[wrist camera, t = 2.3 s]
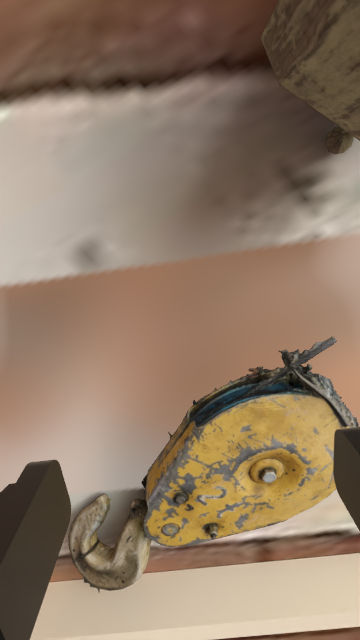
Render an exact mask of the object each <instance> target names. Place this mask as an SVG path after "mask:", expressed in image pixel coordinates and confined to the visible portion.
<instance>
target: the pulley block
mask: <svg viewBox="0 0 360 640" xmlns="http://www.w3.org/2000/svg"><path fill="white" fill-rule="evenodd" d="M336 341H337V340H336V339H335V338H334V337H331V338H329V339H327V340H325V341H324V342H318V343H316V344H314V346H313V347H312V348H311V349H310V350H304V351H303V352H302V354H300V353H299V350H296V351H295V352H290V353H289V352H288V351H287V350H284V351H279V352H281V353H282V359H283V362H284V364H285V367H284V368H276V369H275V370H268V369H264V370H263V367H257V368H256V369H249V371H252V372H253V373H252V374H247V375H246V376H244V377H241V378H240V379H238V380H235V381H230V382H229V383H228V384H227V385H225V386H223V387H221V388H219V389H216V388H215V390H214V391H213V392H211V393H210V394H208V395H206V396H205V397H203V398H202V399H200V400H199V401H198V402H195V400H194V401H193V404H194V405H193V406H192V407H191V408H190V409H189V410H188V411H187V414H186V416H185V418H184V419H183V422H182V423H181V425H180V426H179V427H178V429H177V430H176V432H175V433H174V434H173V435H170V441H169V442H168V443H167V445H166V446H165V448H164V449H163V451H162V452H161V454H160V455H159V456H158V458H157V459H156V460H155V462H154V463H153V464H152V466H151V467H150V469H149V470H148V474H147V475H146V476H145V478H144V479H143V480H144V481H142V484H143V486H144V488H145V491H144V494H145V500H141V499H134V500H132V502H131V503H130V513H129V516H128V518H127V520H126V522H125V525H124V527H123V528H122V530H121V532H120V534H119V536H118V538H117V540H116V543H115V547H113V548H111V547H109V546H107V545H104V544H102V543H101V542H100V541H99V539H98V538H97V530H98V528H99V527H100V525H101V524H102V523H103V521H104V520H105V518H106V515H107V513H108V511H109V509H110V499H109V498H108V496H107V495H105V494H104V495H101V496H99V497H98V498H97V499H96V500H95V501H94V502H93V503H92V504H91V505H89V506H88V507H86V508H84V509H83V510H82V511H81V512H80V513H79V514H78V515H77V517H76V518H75V520H74V521H73V523H72V526H71V528H70V532H69V536H68V538H69V544H68V545H69V549H70V553H71V557H72V560H73V563H74V564H75V566H76V568H77V569H78V571H79V572H80V573H81V575H82V576H83V577H84V583H89V584H90V587H93V588H97V589H98V592H100V589H103V590H108V591H112V590H120V589H124V588H126V587H128V586H130V585H132V584H133V583H135V582H136V581H137V580H138V579H139V578H140V576H141V575H142V573H143V571H144V570H145V568H146V565H147V561H148V558H149V551H150V543H151V540H153V541H155V542H157V543H158V544H160V545H162V546H169V547H176V546H188V545H194V544H198V543H202V542H206V541H210V540H214V539H218V538H222V537H226V536H230V535H234V534H238V533H242V532H246V531H250V530H254V529H258V528H262V527H266V526H270V525H274V524H277V523H280V522H284V521H285V520H287V519H289V518H291V517H292V516H294V515H296V514H298V513H301V512H303V511H305V510H307V509H309V508H311V507H313V506H314V505H316V504H317V503H319V502H320V501H322V500H323V499H325V498H326V497H328V496H329V495H330V494H331V493H332V492H333V491H334V490H335V489H336V485H335V481H334V475H333V462H334V434H335V431H336V430H337V429H344V428H353V427H359V426H358V425H359V424H358V422H357V418H355V417H353V415H352V413H351V412H350V411H349V409H348V408H347V407H346V405H344V402H341V400H340V399H341V397H339V396H338V395H337V393H336V391H335V390H334V388H333V385H332V383H331V380H330V379H327V378H325V377H323V376H322V375H319V374H313V373H312V372H310V370H311V369H312V367H311V365H310V364H308V365H307V367H303V366H302V365H301V364H303V363H306V362H307V361H308V360H310V359H311V358H313V357H314V356H316V355H317V354H319V353H320V352H322V351H323V350H325V349H327V348H328V347H330V346H331V345H333V344H334V343H335V342H336ZM299 355H300V356H299Z"/></svg>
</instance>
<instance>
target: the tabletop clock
mask: <svg viewBox="0 0 360 640" xmlns="http://www.w3.org/2000/svg"><path fill="white" fill-rule="evenodd" d="M261 41H262V43H263V46H264V48H265V51H266V53H267V56H268V58H269V61H270V63H271V66H272V68H273V71H274V73H275V75H276V78H277V80H278V83H279V84H280V85H281V86H283V87H284V88H285V89H287V90H288V91H290V92H291V93H293V94H294V95H295V96H297V97H298V98H300V99H301V100H302V101H304V102H305V103H307V104H308V105H310V106H311V107H312V108H314V109H315V110H317V111H318V112H320V113H321V114H322V115H324V116H325V117H327V118H328V119H330V120H331V121H332V122H334V123H335V124H337V125H338V126H339V127H335V128H334V129H333V130H332V131H331V132H330V133H329V134H328V136H327V139H326V146H327V148H328V151H329V152H331V153H334V154H339V153H344V152H345V151H346V150H347V149H348V148H349V147H350V146H351V144H352V141H353V138H354V137H355V138H357V139H358V140H360V0H279V1H278V3H277V5H276V7H275V9H274V11H273V13H272V15H271V18H270V20H269V22H268V24H267V26H266V28H265V30H264V32H263V34H262V37H261Z"/></svg>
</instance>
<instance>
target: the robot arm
mask: <svg viewBox="0 0 360 640" xmlns="http://www.w3.org/2000/svg"><path fill="white" fill-rule="evenodd" d="M333 475H334V481H335V485H336V488H337V491H338V493H339V496H340V498H341V499H342V501H343V503H344V505H345V506H346V508H347V510H348V511H349V513H350V515H351V517H352V518H353V520H354V522H355V524H356V525H357V527H358V529H359V531H360V427H353V428H344V429H337V430H336V431H335V434H334V462H333ZM70 515H71V503H70V498H69V495H68V491H67V488H66V484H65V481H64V478H63V475H62V471H61V467H60V464H59V462H58V461H57V460H49V461H40V462H31V463H29V464H27V465H26V467H25V469H24V470H23V472H22V474H21V475H20V477H19V479H18V480H17V482H16V483H15V484H9V485H8V486H7V487H6V488H5V489H4V490H3V491H2V492H0V640H30V638H31V635H32V632H33V629H34V626H35V623H36V620H37V617H38V614H39V611H40V608H41V605H42V602H43V599H44V596H45V593H46V590H47V587H48V584H49V581H50V578H51V576H52V573H53V570H54V567H55V564H56V561H57V558H58V555H59V552H60V549H61V546H62V543H63V540H64V537H65V534H66V531H67V528H68V525H69V521H70Z"/></svg>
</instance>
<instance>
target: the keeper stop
mask: <svg viewBox="0 0 360 640" xmlns="http://www.w3.org/2000/svg"><path fill="white" fill-rule="evenodd" d="M359 626H360V553H355V554H344V555H334V556H323V557H313V558H302V559H292V560H281V561H270V562H260V563H249V564H239V565H228V566H218V567H207V568H197V569H186V570H175V571H165V572H154V573H144V574H142V575H141V576H140V578H139V579H138V580H137V581H136V582H135V583H133V584H132V585H130V586H128V587H126V588H124V589H120V590H112V591H108V590H103V589H100V592H98V589H97V588H93V587H90V584H89V583H84V579H80V580H70V581H59V582H49V584H48V587H47V590H46V593H45V596H44V599H43V602H42V605H41V608H40V611H39V614H38V617H37V620H36V623H35V626H34V629H33V632H32V635H31V638H30V640H212V639H223V638H234V637H246V636H257V635H268V634H280V633H291V632H302V631H314V630H325V629H336V628H348V627H359Z"/></svg>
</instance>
